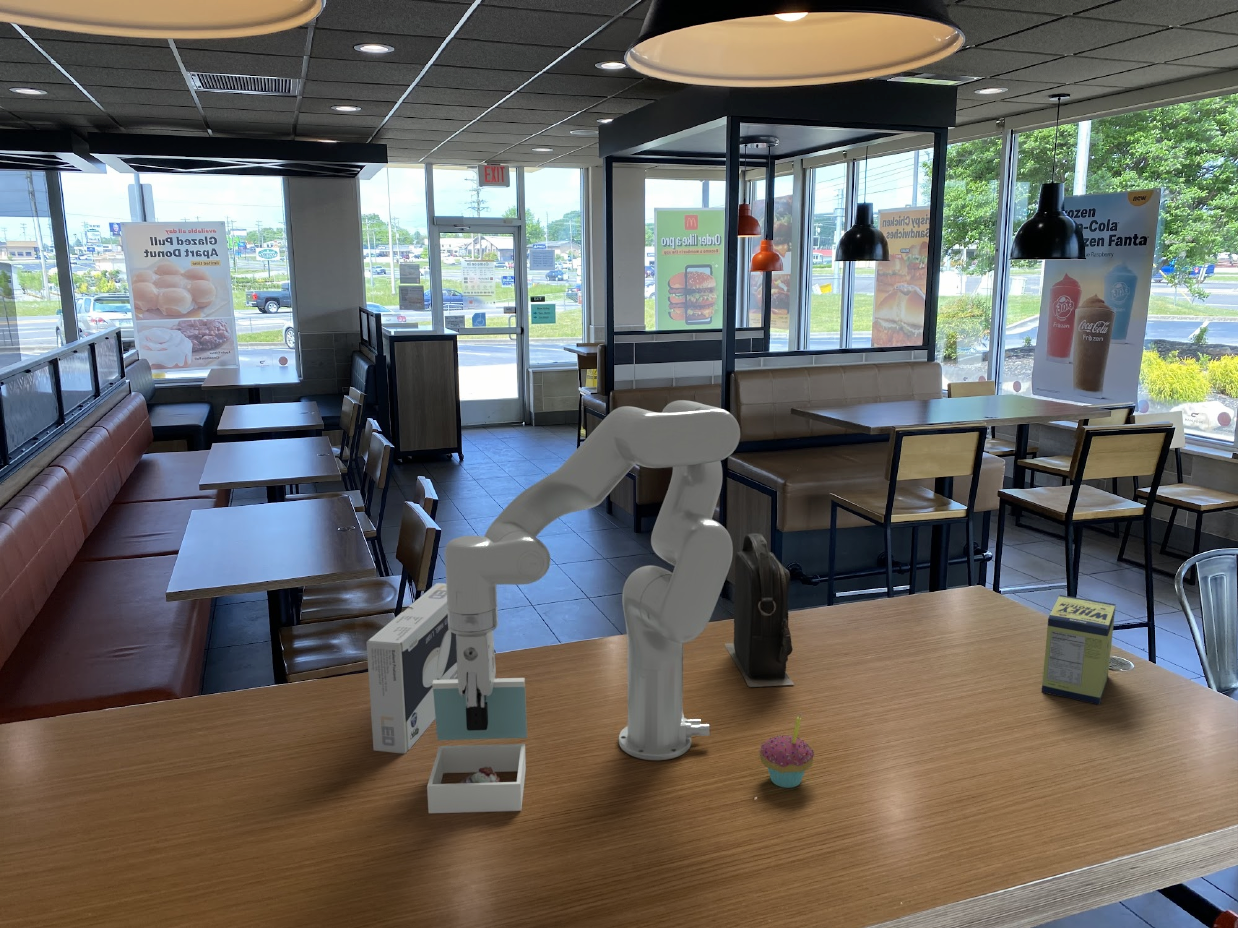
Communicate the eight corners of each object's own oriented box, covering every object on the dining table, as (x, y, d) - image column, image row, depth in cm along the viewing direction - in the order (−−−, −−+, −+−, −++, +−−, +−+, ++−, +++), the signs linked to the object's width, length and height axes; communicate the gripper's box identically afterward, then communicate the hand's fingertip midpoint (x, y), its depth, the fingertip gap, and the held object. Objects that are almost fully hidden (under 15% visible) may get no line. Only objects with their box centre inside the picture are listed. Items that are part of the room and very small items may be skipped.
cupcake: (815, 771, 150) (818, 703, 148) (808, 798, 142) (811, 727, 140) (763, 762, 153) (765, 696, 150) (753, 789, 145) (755, 719, 142)
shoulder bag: (723, 643, 202) (726, 520, 196) (764, 641, 203) (767, 519, 197) (749, 688, 180) (752, 552, 174) (794, 685, 181) (799, 550, 175)
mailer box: (525, 768, 151) (525, 743, 150) (521, 810, 139) (520, 783, 138) (440, 771, 151) (439, 746, 150) (428, 813, 139) (427, 786, 138)
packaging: (406, 753, 156) (400, 643, 152) (373, 750, 157) (365, 641, 153) (469, 678, 185) (465, 584, 181) (441, 675, 187) (436, 582, 182)
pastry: (515, 797, 143) (514, 768, 142) (476, 817, 138) (474, 787, 137) (484, 778, 149) (483, 750, 148) (445, 797, 144) (444, 767, 143)
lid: (526, 738, 150) (527, 734, 151) (524, 681, 146) (524, 677, 147) (437, 740, 150) (438, 736, 151) (432, 683, 146) (433, 679, 147)
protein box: (1108, 675, 185) (1116, 602, 182) (1100, 706, 172) (1109, 628, 169) (1052, 664, 191) (1058, 593, 187) (1040, 692, 178) (1047, 617, 174)
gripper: (493, 635, 132) (497, 751, 136) (501, 599, 147) (505, 705, 151) (441, 636, 132) (447, 753, 136) (454, 600, 147) (459, 706, 150)
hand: (477, 727), depth 143 cm, fingers closed
